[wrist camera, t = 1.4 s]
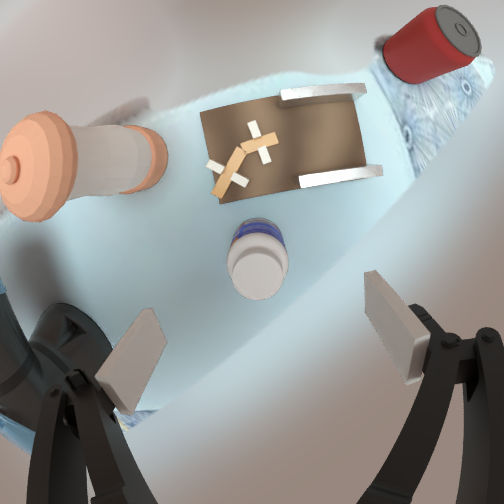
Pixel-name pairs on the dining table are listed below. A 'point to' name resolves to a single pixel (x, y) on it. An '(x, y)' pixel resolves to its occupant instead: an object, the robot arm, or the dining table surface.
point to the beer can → (432, 45)
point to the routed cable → (241, 160)
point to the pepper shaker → (74, 163)
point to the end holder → (320, 96)
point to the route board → (283, 142)
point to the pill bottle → (257, 259)
